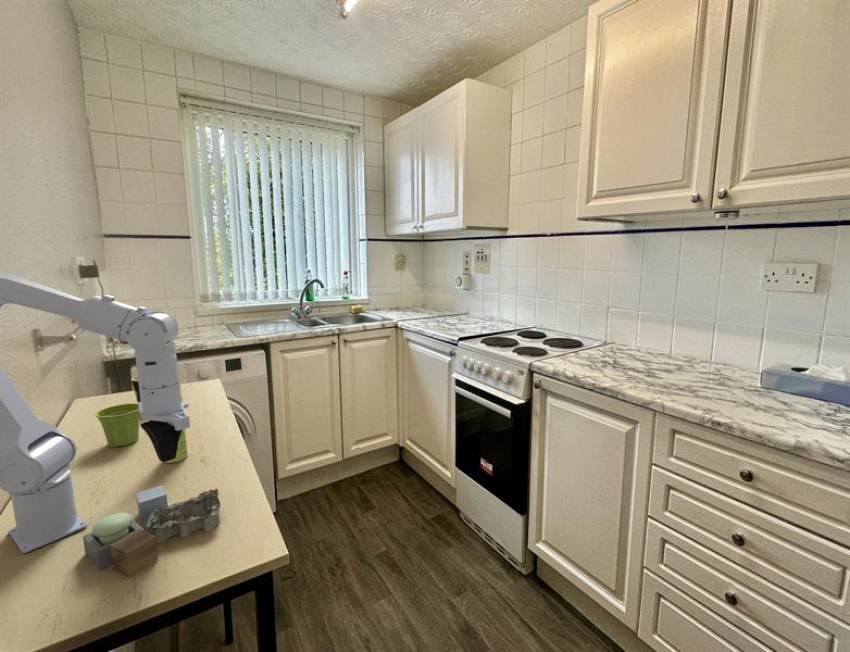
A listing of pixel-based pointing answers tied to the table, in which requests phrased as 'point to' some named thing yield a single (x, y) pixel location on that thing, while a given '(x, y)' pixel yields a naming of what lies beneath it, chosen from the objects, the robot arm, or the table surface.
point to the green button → (112, 527)
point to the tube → (180, 442)
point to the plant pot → (120, 424)
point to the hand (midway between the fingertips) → (167, 459)
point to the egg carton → (178, 510)
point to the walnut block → (134, 553)
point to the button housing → (103, 547)
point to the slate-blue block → (151, 502)
